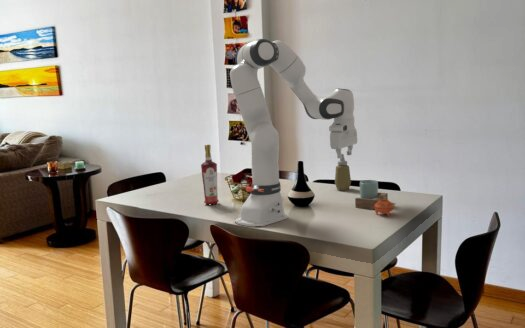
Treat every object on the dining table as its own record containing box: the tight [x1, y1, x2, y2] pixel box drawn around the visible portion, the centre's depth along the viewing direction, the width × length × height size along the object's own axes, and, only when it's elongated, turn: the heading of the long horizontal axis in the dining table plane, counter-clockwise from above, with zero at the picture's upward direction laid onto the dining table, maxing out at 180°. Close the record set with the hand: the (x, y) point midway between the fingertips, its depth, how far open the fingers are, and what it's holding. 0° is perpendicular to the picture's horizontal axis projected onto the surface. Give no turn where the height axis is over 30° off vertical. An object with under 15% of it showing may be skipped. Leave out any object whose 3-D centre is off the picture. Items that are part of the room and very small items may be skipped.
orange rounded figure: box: [374, 199, 395, 217], centre depth 200 cm, size 8×8×7 cm
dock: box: [354, 191, 389, 210], centre depth 216 cm, size 14×9×4 cm, turn 145°
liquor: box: [200, 144, 220, 205], centre depth 229 cm, size 7×7×28 cm
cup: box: [359, 179, 379, 199], centre depth 217 cm, size 8×8×10 cm
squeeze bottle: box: [334, 153, 352, 191], centre depth 247 cm, size 8×8×18 cm
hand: (344, 156), depth 220 cm, fingers open, 8 cm apart
